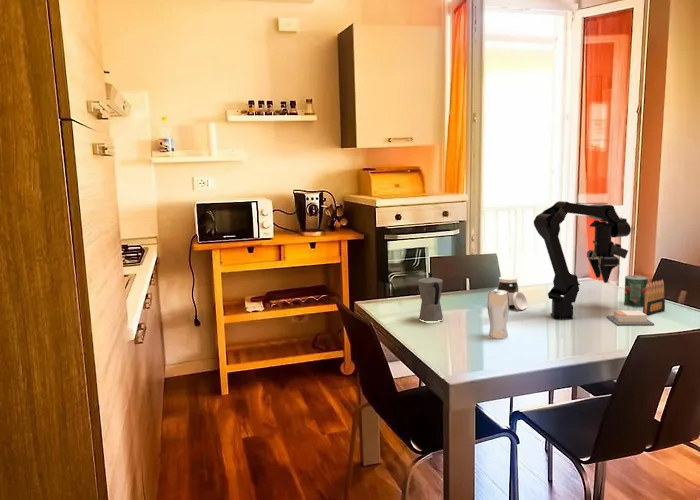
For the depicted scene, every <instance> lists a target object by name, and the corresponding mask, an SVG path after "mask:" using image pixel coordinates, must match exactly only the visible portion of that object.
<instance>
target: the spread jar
mask: <svg viewBox="0 0 700 500" xmlns="http://www.w3.org/2000/svg"><path fill="white" fill-rule="evenodd" d="M498 280H499V282H498V284H497V290H505V291H508V292H509V308H513V309H517V310H518V311H524V310H526V308H527V306H528V300H527V297H526V295H525V294H524V293H523V292H521V291H519V284H518V277H517V276H513V275H512V276H511V275H510V276H509V275H508V276H507V275H504V276H499V277H498Z"/></svg>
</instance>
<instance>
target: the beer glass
mask: <svg viewBox="0 0 700 500" xmlns="http://www.w3.org/2000/svg"><path fill="white" fill-rule="evenodd" d="M486 301H487V302H486V305H487V308H486V309H487V315H488V320H489V331H488V337H489V336H490V337H489V338H491V337H492V338H491V339H494V338H496V339H495V340H504V339H503V338H505V339H507V338H508V335H509V334H508V327H507V325H508V324H507V323H508V317H509V311H510V309H509V292H508V291H505V290H498V289H491V290H488V291H487V300H486Z"/></svg>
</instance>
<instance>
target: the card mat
mask: <svg viewBox="0 0 700 500" xmlns="http://www.w3.org/2000/svg"><path fill="white" fill-rule="evenodd" d="M605 316H606V317H605V318H607V320H609V321H610V322H612V323H613V324H614V325H616V326H617V327H621V326H622V327H629V326H631V327H632V326H636V327H637V326H638V327H640V326H643V327H644V326H651V327H652V326H655V323H653V322H652V321H651V320H649V319H648V318H647V322H619V321H617V320H616V319H615V318H613V315H605Z"/></svg>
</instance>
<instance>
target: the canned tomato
mask: <svg viewBox="0 0 700 500" xmlns="http://www.w3.org/2000/svg"><path fill="white" fill-rule="evenodd" d="M648 279H649V278H648V277H647V276H643V275H631V274H630V275H629V274H628V275H625V277H624V298H623V299H624V300H623V301H624V302H623V303H624V306H626V307H630V308H638V307H639V308H643V303H644V301H645V291H646V285H647V283H649V281H648Z"/></svg>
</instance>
